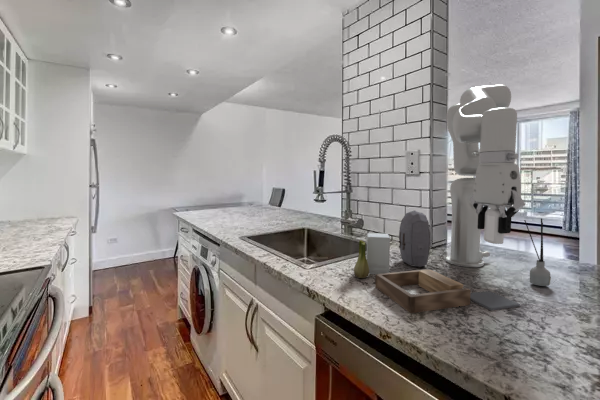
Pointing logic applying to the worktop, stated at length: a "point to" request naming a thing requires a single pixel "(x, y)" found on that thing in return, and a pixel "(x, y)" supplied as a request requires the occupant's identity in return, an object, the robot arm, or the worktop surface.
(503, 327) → the worktop surface
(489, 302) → the slate mat
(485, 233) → the eye dropper bottle
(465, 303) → the walnut rack
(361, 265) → the fennel bulb
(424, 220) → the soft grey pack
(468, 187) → the robot arm
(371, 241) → the supplement box
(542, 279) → the reed diffuser
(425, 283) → the wooden block
